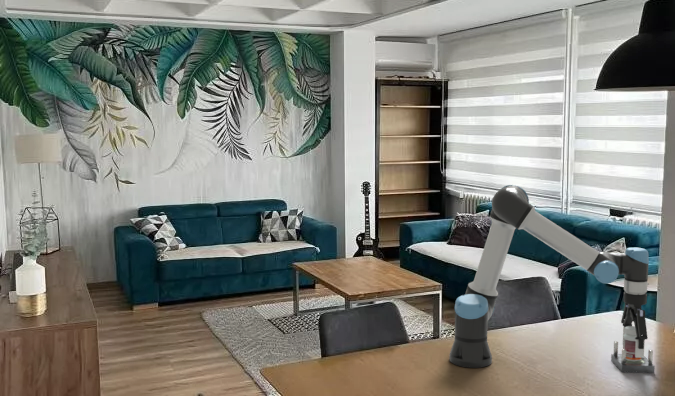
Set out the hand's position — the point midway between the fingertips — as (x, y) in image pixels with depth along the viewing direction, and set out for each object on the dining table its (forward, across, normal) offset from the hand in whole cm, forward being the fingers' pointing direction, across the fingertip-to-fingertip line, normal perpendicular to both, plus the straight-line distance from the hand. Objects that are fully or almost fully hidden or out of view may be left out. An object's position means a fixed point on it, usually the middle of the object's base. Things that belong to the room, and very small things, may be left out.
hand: (632, 351), depth 253 cm
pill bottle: (+3, 0, 0) cm, 3 cm away
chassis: (+6, 0, 0) cm, 6 cm away
